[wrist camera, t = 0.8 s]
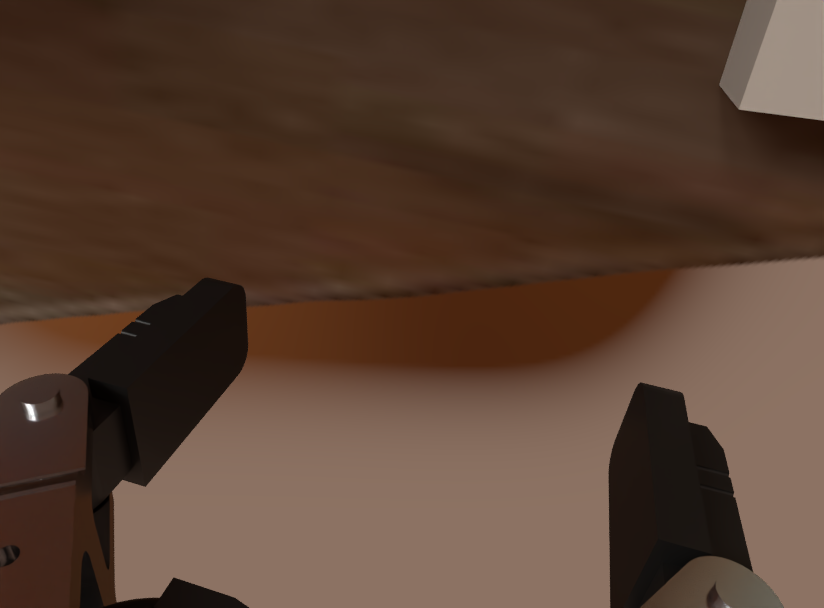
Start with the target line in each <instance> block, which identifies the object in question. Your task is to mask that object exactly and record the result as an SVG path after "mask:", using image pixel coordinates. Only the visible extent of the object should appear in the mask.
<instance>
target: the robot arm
mask: <svg viewBox="0 0 824 608" xmlns="http://www.w3.org/2000/svg"><path fill="white" fill-rule="evenodd" d="M247 352H248V333H247V312H246V295H245V290H244V288H243V287H242V286H241V285H237V284H233V283H228V282H224V281H220V280H216V279H212V278H204V279H202V280H201V281H200V282H198V283H197V284H196V285H195V286H194V287H193V288H191V289H190V290H189V291H188V292H187V293H186V294H184V295H183V296H181V295H175V296H172V297H170V298H168V299H165V300H163V301H161V302H158V303H156V304H154V305H152V306H151V307H150V308H148V309H147V310H146V311H145V312H144V313H142V314H141V315H140V316H139V317H137V318H136V321H135V322H131V323H130V324H129V325H128V326H127V327H125V328H124V329H123V330H122V332H121V334H117V335H116V336H114V337H113V338H112V339H111V340H109V341H108V342H107V343H106V344H105V345H103V346H102V347H101V348H100V349H99V350H97V351H96V352H95V353H94V354H93V355H91V356H90V357H89V358H87V359H86V360H85V361H84V362H83V363H81V364H80V365H79V366H78V367H77V368H75V369H74V370H73V371H72V372H70V373H69V374H68V375H67V374H44V375H40V376H35V377H31V378H28V379H25V380H23V381H20V382H18V383H16V384H14V385H13V386H11V387H9V388H8V389H6V390H5V391H4V392H3V393H2V394H1V395H0V608H249V607H247V606H246V605H244V604H243V603H242V602H240V601H239V600H237V599H236V598H234V597H231V596H228V595H225V594H222V593H219V592H216V591H213V590H209V589H207V588H204V587H201V586H198V585H195V584H191V583H189V582H185V581H183V580H180V579H176V578H173V579H172V581H171V582H170V584H169V585H168V587H167V588H166V590H165V591H164V593H163V594H162V596H161V597H160V598H143V599H133V600H128V601H123V602H116V595H115V573H114V572H115V569H114V499H113V494H112V491H113V490H114V488H115V487H116V486H117V485H118V484H119V483H120V481H122V480H125V481H128V482H132V483H135V484H138V485H141V486H145V487H146V485H147V484H148V483H149V482H150V481H151V479H152V478H153V477H154V476H155V475H156V473H157V472H158V471H159V470H160V469H161V467H162V466H163V465H164V464H165V463H166V461H167V460H168V459H169V458H170V457H171V455H172V454H173V453H174V452H175V451H176V449H177V448H178V447H179V446H180V445H181V443H182V442H183V441H184V440H185V438H186V437H187V436H188V435H189V434H190V432H191V431H192V430H193V429H194V428H195V426H196V425H197V424H198V423H199V422H200V420H201V419H202V418H203V417H204V416H205V414H206V413H207V412H208V411H209V410H210V408H211V407H212V406H213V405H214V403H215V402H216V401H217V400H218V398H220V396H221V395H222V394H223V393H224V391H225V390H226V389H227V388H228V387H229V385H230V384H231V383H232V382H233V381H234V379H235V378H236V377H237V376H238V374H239V373H240V372H241V370H242V368H243V366H244V363H245V360H246V357H247ZM733 494H734V491H733V487H732V483H731V479H730V478H729V470H728V466H727V461H726V457H725V453H724V450H723V448H722V447H721V446H720V444H719V443H718V441H717V440H716V439H715V437H714V436H713V435H712V433H711V432H710V430H709V429H708V428H707V427H706V426H702V425H698V424H694V423H690V422H688V417H687V411H686V406H685V400H684V396H683V394H682V393H681V392H678V391H673V390H670V389H665V388H661V387H657V386H653V385H649V384H645V383H639V384H638V386H637V387H636V389H635V391H634V394H633V396H632V399H631V401H630V404H629V406H628V409H627V411H626V414H625V416H624V419H623V422H622V424H621V427H620V430H619V432H618V434H617V437H616V439H615V442H614V445H613V449H612V453H611V458H610V464H609V533H610V534H609V536H610V537H609V538H610V608H784V607H783V605H782V603H781V602H780V600H779V598H778V597H777V595H776V594H775V593H774V592H773V590H772V589H771V588H770V587H769V586H768V585H767V584H766V583H765V582H764V581H763V580H762V579H761V578H760V577H759V576H757V575H756V574H754V573H753V570H752V566H751V562H750V558H749V554H748V549H747V546H746V541H745V537H744V533H743V529H742V524H741V520H740V516H739V512H738V507H737V503H736V500H735V498H734V497H733Z"/></svg>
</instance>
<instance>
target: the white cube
mask: <svg viewBox="0 0 824 608" xmlns="http://www.w3.org/2000/svg"><path fill="white" fill-rule="evenodd" d="M719 85H720V87H721V88H722V89H723V90H724V92H725V93H726V94H727V95H728V97H729V98H730V99H731V100H732V102H733V103H734V104H735V106H736V107H737V108H738V109H739V110H746V111H754V112H762V113H769V114H777V115H784V116H792V117H800V118H807V119H815V120H823V121H824V0H747V2H746V5H745V8H744V11H743V14H742V17H741V20H740V23H739V26H738V29H737V32H736V35H735V38H734V41H733V44H732V47H731V50H730V54H729V57H728V60H727V63H726V66H725V69H724V72H723V75H722V78H721V81H720V84H719Z"/></svg>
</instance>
